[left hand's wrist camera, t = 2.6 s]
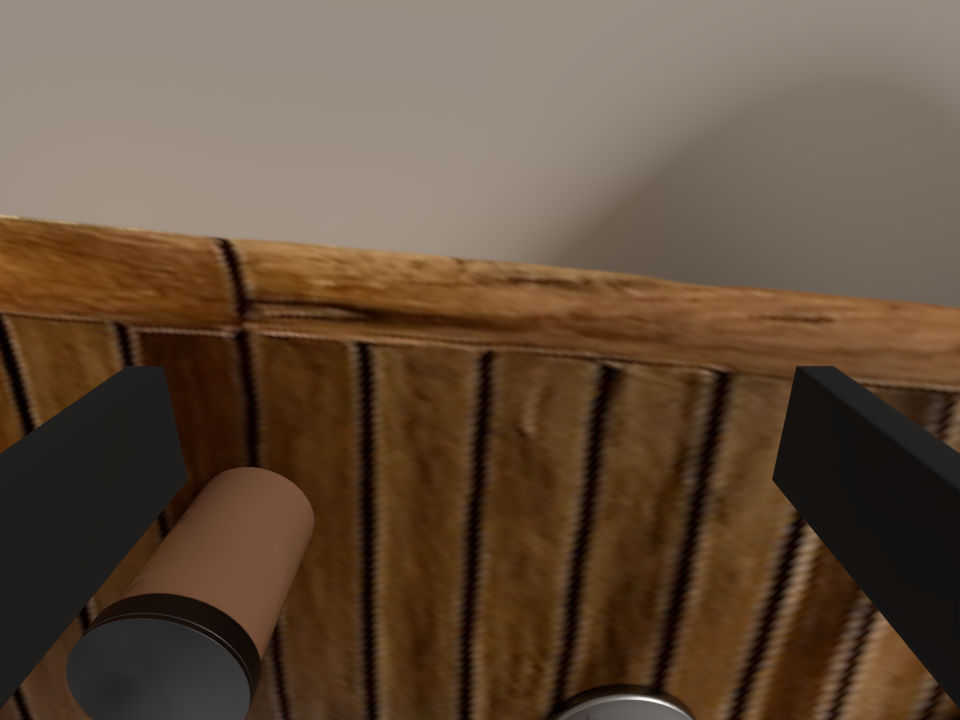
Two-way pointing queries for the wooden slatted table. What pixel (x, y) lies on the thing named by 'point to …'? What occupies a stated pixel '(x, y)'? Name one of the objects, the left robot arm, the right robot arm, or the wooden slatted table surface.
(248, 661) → the lid
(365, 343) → the wooden slatted table surface
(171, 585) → the jar
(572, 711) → the left robot arm
